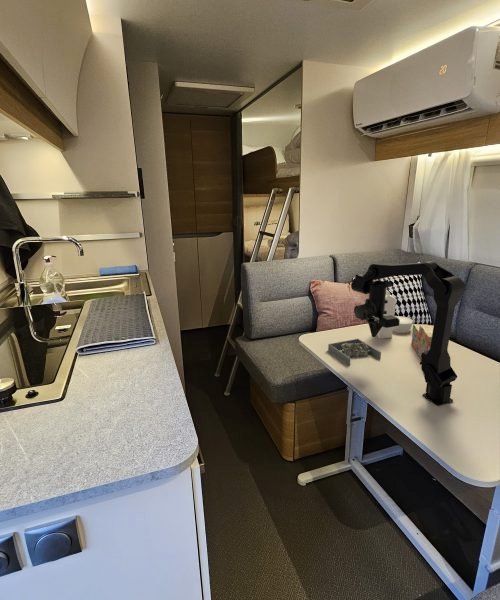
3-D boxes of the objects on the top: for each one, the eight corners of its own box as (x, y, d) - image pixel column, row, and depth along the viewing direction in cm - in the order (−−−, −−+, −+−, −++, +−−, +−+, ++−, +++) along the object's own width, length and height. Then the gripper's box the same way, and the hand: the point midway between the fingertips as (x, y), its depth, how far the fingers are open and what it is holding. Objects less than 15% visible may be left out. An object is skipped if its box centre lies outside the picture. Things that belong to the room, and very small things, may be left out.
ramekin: (382, 330, 169) (383, 319, 168) (393, 324, 176) (394, 314, 175) (405, 336, 161) (406, 325, 160) (415, 329, 168) (417, 319, 167)
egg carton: (344, 357, 142) (345, 348, 141) (340, 350, 149) (340, 341, 148) (370, 357, 142) (371, 347, 140) (364, 349, 149) (365, 340, 148)
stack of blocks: (410, 343, 153) (413, 317, 150) (426, 344, 152) (429, 317, 149) (424, 365, 133) (428, 336, 130) (442, 366, 132) (446, 337, 128)
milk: (387, 333, 165) (392, 288, 159) (392, 338, 159) (397, 292, 153) (374, 333, 165) (378, 288, 159) (378, 338, 159) (383, 292, 153)
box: (380, 358, 139) (381, 352, 138) (349, 365, 135) (349, 358, 134) (357, 344, 153) (357, 338, 152) (328, 350, 148) (328, 344, 147)
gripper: (343, 293, 131) (341, 331, 136) (376, 307, 115) (372, 350, 119) (367, 290, 135) (364, 327, 139) (402, 302, 118) (398, 344, 123)
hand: (373, 336), depth 130 cm, fingers closed
